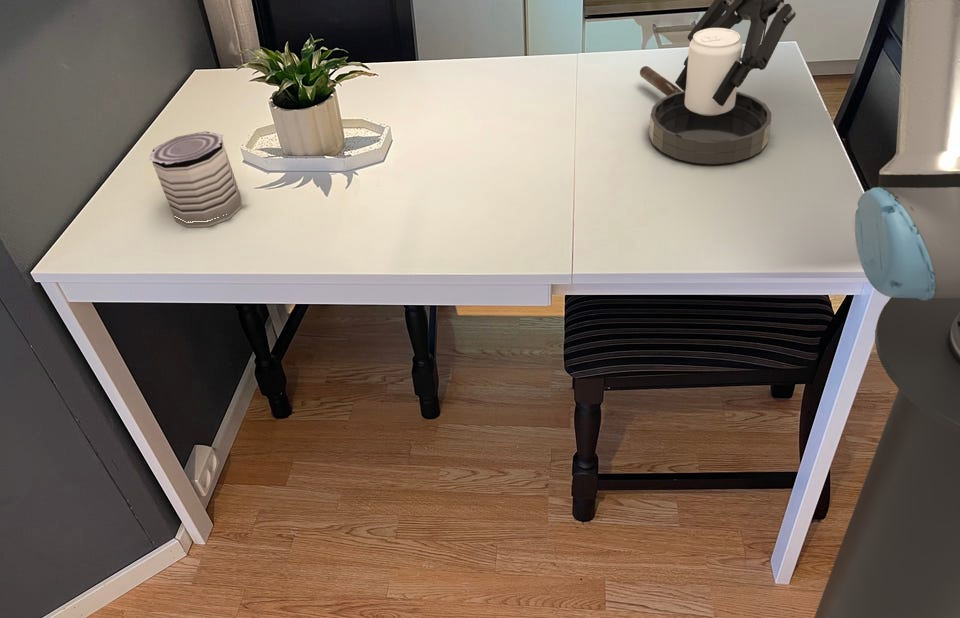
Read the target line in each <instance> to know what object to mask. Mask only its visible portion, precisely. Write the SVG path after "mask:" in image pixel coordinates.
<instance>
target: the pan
mask: <svg viewBox="0 0 960 618" xmlns="http://www.w3.org/2000/svg"><path fill="white" fill-rule="evenodd" d="M684 102H685V91H683V90H681V92H677V93H673V94H671V95H669V96H666V95H665V97H662V98H660V99H659V100H658V101H657V102H656V103H655V104H654V105H653V106H652V108H651V111H650V116H649V131H648V132H649V134H648V135H649V136H648V137H649V139H650V141H651V143H652V145H653V146H654V147H655V148H657V149H658V150H659V151H660V152H661V153H663V154H665V155H667V156H669V157H671V158H674V159H676V160H679V161H681V162H687V163H689V164H698V165H725V164H732V163H736V162H740V161H743V160H746V159H748V158H752V157H753V156H755V155H757V154H758V153H760V152H762V150H763V149H764V148H765V147H766V146H767V144H768V143H769V139H770V138H769V137H770V131H771V125H772V111H771V110H770V109H769V107H768V106H767V104H766V103H764V102H762V101H761V100H759V99H758V98H757V97H756V96H755V97H754V96H751V95H749V94H747V93H743V92H742V91H741V92H740V91H736V99H735V106H734V107H733V108H732V109H731V110H730V111H728V112H726V113H723V114H719V115H713V116H706V115H700V114H697V113H694V112H692V111H690V110H689V109H687V108H686V106H685V103H684Z"/></svg>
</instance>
